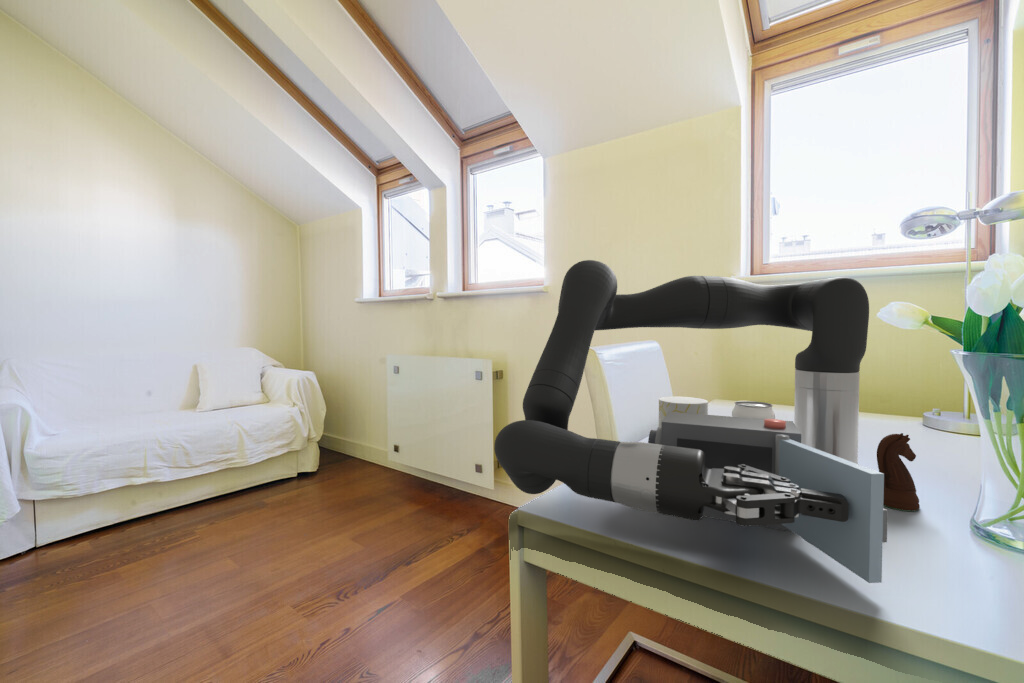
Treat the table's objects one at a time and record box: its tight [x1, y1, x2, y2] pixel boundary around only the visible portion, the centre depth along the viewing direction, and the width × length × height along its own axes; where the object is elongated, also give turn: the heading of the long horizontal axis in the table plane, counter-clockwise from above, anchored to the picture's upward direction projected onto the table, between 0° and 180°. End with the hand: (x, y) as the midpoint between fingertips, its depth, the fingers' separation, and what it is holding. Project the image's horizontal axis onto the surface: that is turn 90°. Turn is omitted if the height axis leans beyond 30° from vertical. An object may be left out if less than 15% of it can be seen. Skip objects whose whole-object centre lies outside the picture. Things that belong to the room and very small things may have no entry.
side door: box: [775, 434, 889, 584], centre depth 47 cm, size 2×14×11 cm, turn 3°
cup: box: [658, 395, 709, 427], centre depth 78 cm, size 8×8×12 cm
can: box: [731, 400, 776, 419], centre depth 74 cm, size 6×6×12 cm
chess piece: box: [876, 432, 921, 512], centre depth 61 cm, size 5×5×10 cm
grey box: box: [647, 412, 801, 532], centre depth 61 cm, size 8×18×13 cm, turn 64°
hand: (846, 508), depth 42 cm, fingers closed
